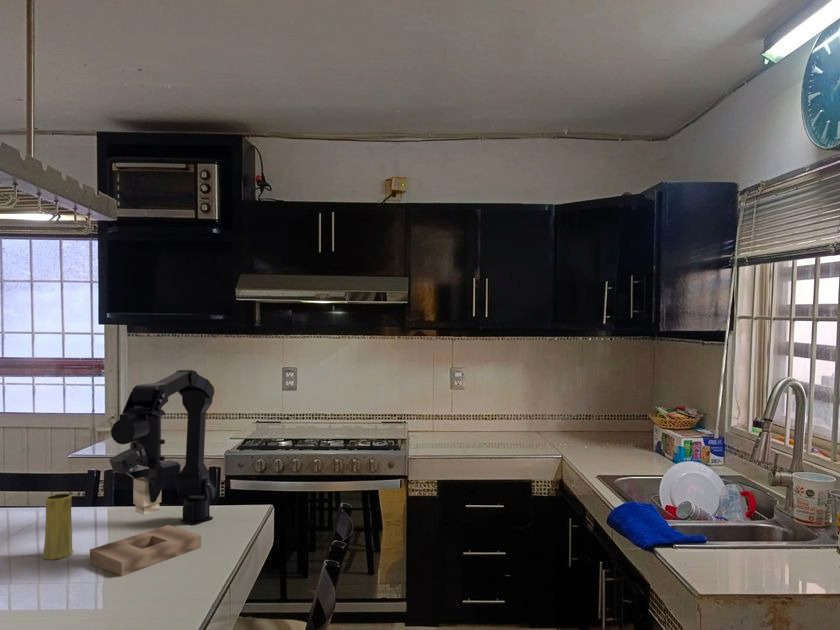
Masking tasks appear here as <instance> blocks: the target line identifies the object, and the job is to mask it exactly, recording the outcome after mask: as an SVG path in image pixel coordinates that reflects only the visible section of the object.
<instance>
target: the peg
mask: <svg viewBox="0 0 840 630" xmlns="http://www.w3.org/2000/svg"><path fill="white" fill-rule="evenodd" d="M132 488H133V492H132V494H133V497H132V499H133V502H132V504H133V505H135V510H134V511H135V513H138V514H141V515H148V514H152V513H155V512H159V511H160V503H162V491H161V492H160V494H159V496H158V498H157V500H156V502H153V503H151V500H150V493H149V483H148V481H147V480H146V479H145V478H144V477H140V478H135V479H134V481H133V487H132Z"/></svg>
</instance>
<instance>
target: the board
mask: <svg viewBox="0 0 840 630" xmlns="http://www.w3.org/2000/svg"><path fill="white" fill-rule="evenodd" d="M199 548H202V534H198V533H196V532H192V531H188V530H187V529H186V530H185V529H183V528H179V527H176V526H172V525H170V524H167V525H164V526H160V527H157V528H154V529H150V530H148V531H145V532H142V533H138V534H134V535H131V536H128V537H125V538H123V539H119V540H116V541H113V542H109V543H106V544H103V545H100V546H96V547H94V548H93V547H92V548H90V549H89V563H90V564H93V565H95V566H98V567H100V568H101V569H104V570H106V571H108V572H111V573H113V574H116V575H118V576H120V577H123V576H127V575H129V574H131V573H134V572H137V571H139V570H143V569H146V568H148V567H151V566H155V565H156V564H159V563H162V562H164V561H167V560H169V559H173V558H176V557H178V556H180V555H183V554H187V553H189V552H192V551H195V550H197V549H199Z"/></svg>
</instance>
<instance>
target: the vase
mask: <svg viewBox="0 0 840 630" xmlns="http://www.w3.org/2000/svg"><path fill="white" fill-rule="evenodd" d="M72 496H73V495H72V494H71V493H70V492H69V493H68V492H64V493H63V492H62V493H60V492H59V493H55V494H51V495H49V496H46V499H45V500H46V501H45V527H44V531H45V532H44V544H43V556H42V558H43V559H44V560H47V561H48V560H49V561H54V560H60V559H64V558H67V557H70V556H71V555H72V554H73V553H74V549H73V526H72V525H73V523H72Z"/></svg>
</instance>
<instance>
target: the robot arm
mask: <svg viewBox="0 0 840 630" xmlns="http://www.w3.org/2000/svg"><path fill="white" fill-rule="evenodd" d="M176 393H178V394H179V395H180V396H181V402H182V406H183V407H184V409H185V411H186V412H187V420H186V421H187V422H186V423H187V424H186V444H185V447H186V448H185V463H184V466H183V467H182V465H181V464H180V462H178V461H175V460H172V459H168V460H165V455H162V445H165V442H166V440H165V439H162V416H165V415H166V412H165V410H163V409H162V408H163V407H164V406H165V405H166V404H167V403H168V402H169V397H171V396H172V395H175V394H176ZM214 395H215V387H214V386H213V384H212V383H211V382H210V380H209V379H207V378H205V377H203V376H201V375H200V374H199V373H198V372H197V371H196V370H194V369H179V370H176V371H175V372H174V373H171V374H169V375H168V376H166V377H164V378H163V379H160V380H158V381H155V382H151V383H143V384H142V383H141V384H136V385H135V386H134V387H133V388H132V390H131V392H130V393H129V396H128V398H127V401H126V404H125V405H124V407H123V410H122V413H120V414H119V419H118V420H116V421H115V422H114V423H113V425H112V427H111V430H110V435H111V438H112V439H113V440H114V442H115V443H117V444H118V445H127V444H129V448H128V449H127V450H124V451H122V452H120V453H118V454H117V455H114V456H112V457H110V459H109V463H110V466H111V469H112V472H113V473H119V474H121V475H123V474H126V475H127V476H129V477H130V478H132V482H134V479H135V478H140V477H144V478H145V479H146V480H147V481H148V483H149V493H150V500H151V503H153V502H156V500H157V498H158V496H159V494H160V492H161V493H162V490H163V488H164V486H165V485H166V482H167V481H168V479H169V477H170V476H173V475H176V477H177V482H176V491H177V496H178V497H177V498H178V501H183V505H182V518H181V519H180V522H183V523H185V524H186V523H187V524H189V525H193V526H194V525H197V524H201V523H205V522H207V521H210V520H213V516H211V515H210V508H211V507H210V506H211V505H210V502H211V501H210V500H214V497H215V494H216V488H215V486H214V484H213V483H212V481H211V480H210V471H209V470H208V469H209V468H207V466H206V464H205V460H204V459H205V439H206V438H205V436H206V416H207V412H208V410H209V409H210V407H211V405H212V404H213V398H214ZM181 468H182V469H181Z"/></svg>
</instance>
